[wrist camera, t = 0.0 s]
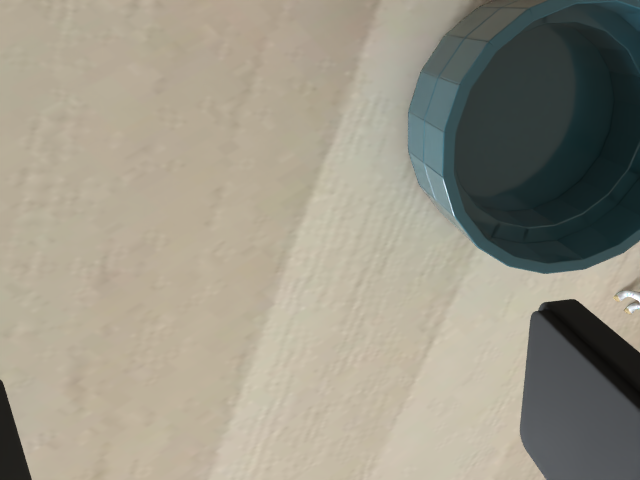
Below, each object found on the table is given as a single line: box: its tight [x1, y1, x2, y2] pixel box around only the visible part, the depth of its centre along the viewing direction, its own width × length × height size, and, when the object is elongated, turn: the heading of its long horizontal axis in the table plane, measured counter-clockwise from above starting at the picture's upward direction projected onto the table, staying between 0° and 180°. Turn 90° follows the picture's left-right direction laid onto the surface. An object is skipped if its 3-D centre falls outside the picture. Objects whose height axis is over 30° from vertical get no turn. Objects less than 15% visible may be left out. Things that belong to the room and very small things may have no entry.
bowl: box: [408, 0, 640, 274], centre depth 30 cm, size 13×13×6 cm
